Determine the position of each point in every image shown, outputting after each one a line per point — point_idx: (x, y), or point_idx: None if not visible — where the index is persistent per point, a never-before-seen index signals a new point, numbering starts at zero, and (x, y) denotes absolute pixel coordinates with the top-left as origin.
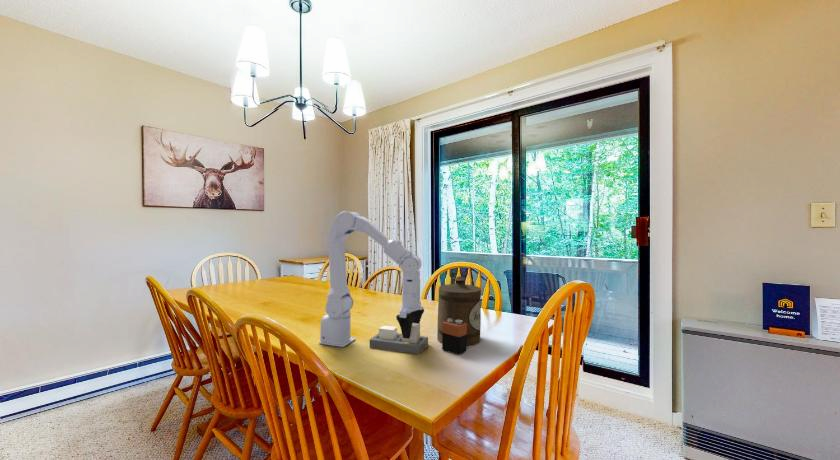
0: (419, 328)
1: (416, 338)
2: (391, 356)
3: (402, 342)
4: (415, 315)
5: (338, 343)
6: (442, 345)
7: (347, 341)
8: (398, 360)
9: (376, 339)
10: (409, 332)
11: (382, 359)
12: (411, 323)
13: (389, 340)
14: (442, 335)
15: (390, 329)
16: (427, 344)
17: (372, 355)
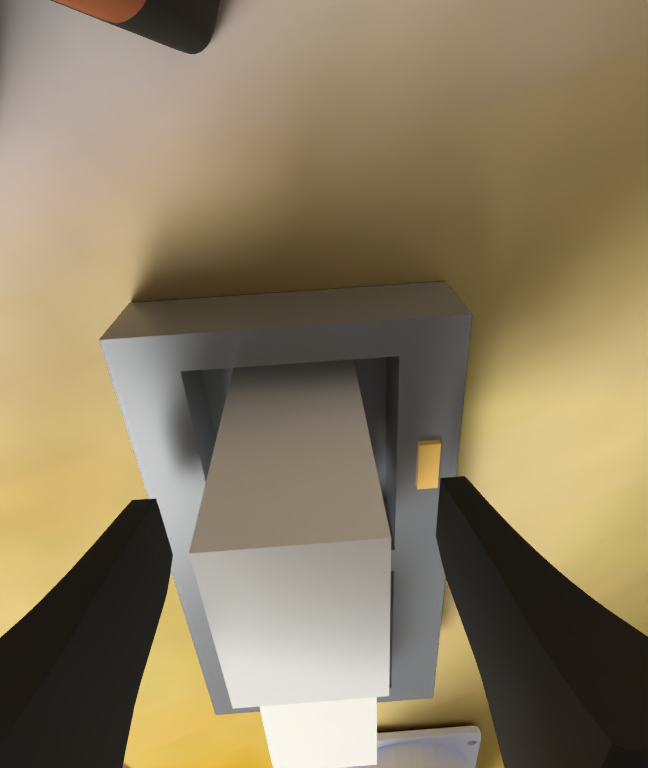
0: (232, 493)
1: (360, 417)
2: (554, 467)
3: (415, 502)
4: (71, 758)
5: (464, 761)
6: (198, 39)
7: (421, 749)
8: (632, 389)
9: (417, 670)
10: (512, 530)
11: (625, 494)
12: (623, 644)
13: (404, 600)
14: (158, 21)
15: (366, 702)
16: (147, 303)
17: (561, 571)
